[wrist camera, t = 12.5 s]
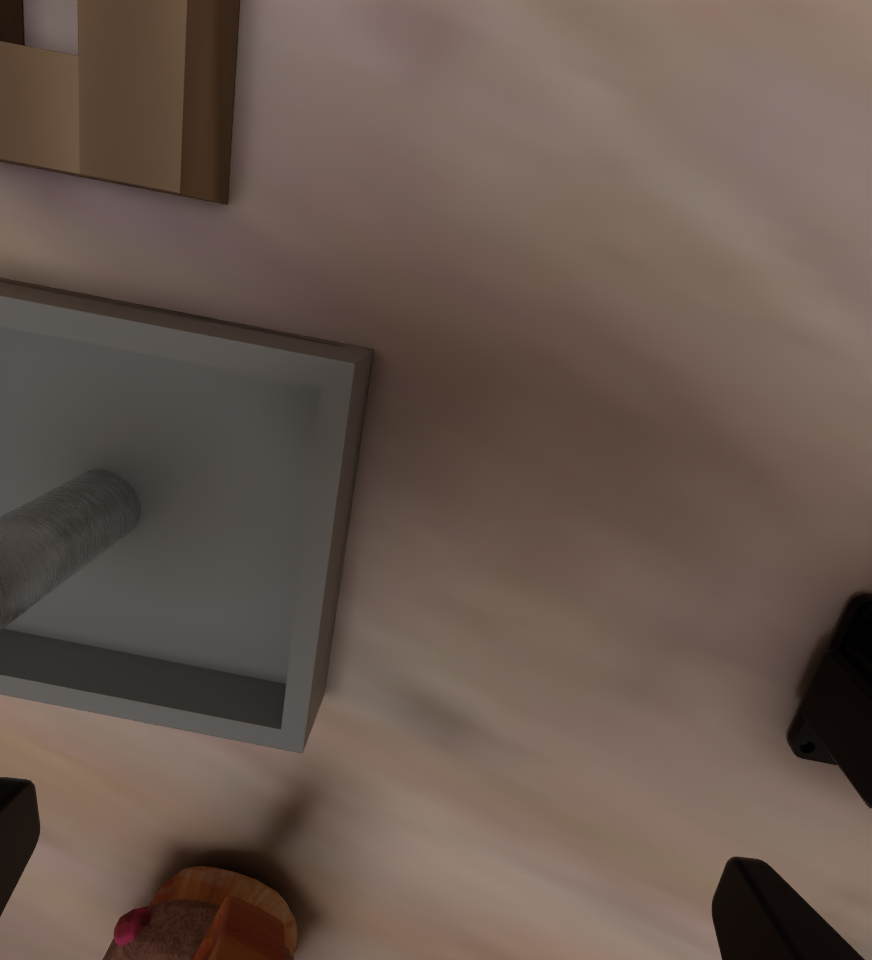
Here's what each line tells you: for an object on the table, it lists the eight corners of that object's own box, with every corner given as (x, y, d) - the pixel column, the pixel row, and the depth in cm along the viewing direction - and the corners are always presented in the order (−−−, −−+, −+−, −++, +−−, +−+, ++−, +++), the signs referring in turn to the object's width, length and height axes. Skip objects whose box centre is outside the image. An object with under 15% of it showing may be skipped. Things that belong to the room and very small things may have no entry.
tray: (373, 349, 19) (355, 363, 16) (324, 694, 23) (302, 753, 21) (-73, 264, 19) (-169, 263, 16) (-41, 623, 23) (-112, 672, 21)
